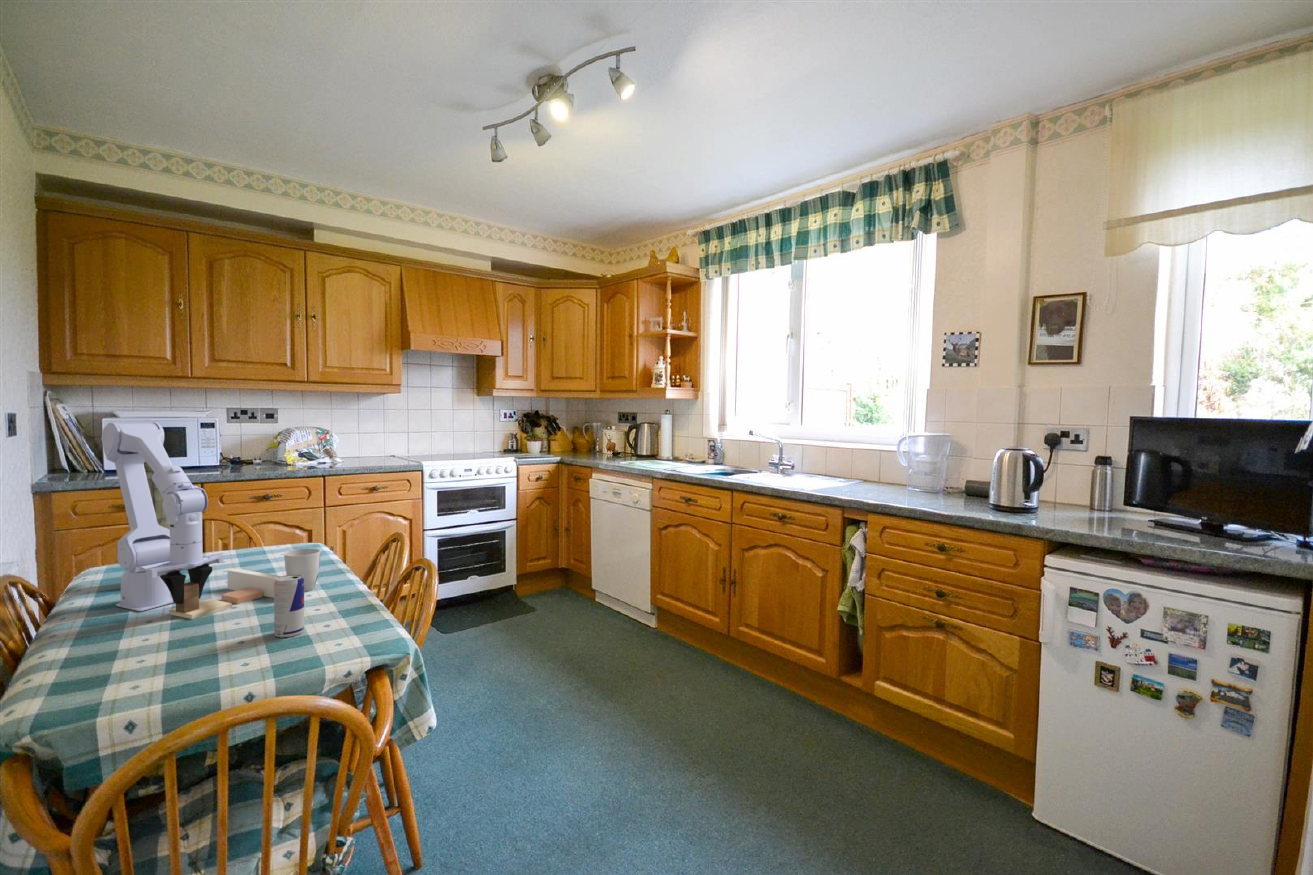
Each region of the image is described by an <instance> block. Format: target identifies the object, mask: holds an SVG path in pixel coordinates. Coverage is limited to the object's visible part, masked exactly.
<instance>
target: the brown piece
mask: <svg viewBox="0 0 1313 875" xmlns="http://www.w3.org/2000/svg"><path fill="white" fill-rule="evenodd" d="M232 604H233V603H229V602H224V601H221V600H216V599H213V598H207V599H203V600H200V599H199V583H194V582H190V581H188V582H184V588H183V603H182V604H175V607H174V608H169V610H168V615H171V616H176V617H179V618H185V619H189V620H194V619H197V618H200V617H204V616H207V615H210V614H214V613H217V612H221V611H223V610H227V609H231V608H232V607H233V606H232Z"/></svg>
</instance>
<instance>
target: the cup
mask: <svg viewBox="0 0 1313 875" xmlns="http://www.w3.org/2000/svg"><path fill="white" fill-rule="evenodd" d="M283 555H284V567H285V575H292V574H299V575H303V578H304V593H305V592H306V593H307V592H310V591H312V590H314V589H315V588H316V583H317V581H318V578H319V572H320V563H321V549H320V548H313V547H312V548H310V547H309V548H299V549H292V550H288V551H286V552H285V553H284V554H283Z"/></svg>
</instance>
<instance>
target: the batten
mask: <svg viewBox="0 0 1313 875" xmlns="http://www.w3.org/2000/svg"><path fill="white" fill-rule="evenodd" d="M226 571H227V574H226V575H227V590H231V591H236V590H240V589H244V588H251V589H256V590H261V591H263V597H267V598H270V599H274V582H275V579H276V578H278V577H280V576H281V575H275V574H270V573H264V572H258V571H254V570H248V569H247V570H246V569H240V568H231V569H228V570H226Z"/></svg>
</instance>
